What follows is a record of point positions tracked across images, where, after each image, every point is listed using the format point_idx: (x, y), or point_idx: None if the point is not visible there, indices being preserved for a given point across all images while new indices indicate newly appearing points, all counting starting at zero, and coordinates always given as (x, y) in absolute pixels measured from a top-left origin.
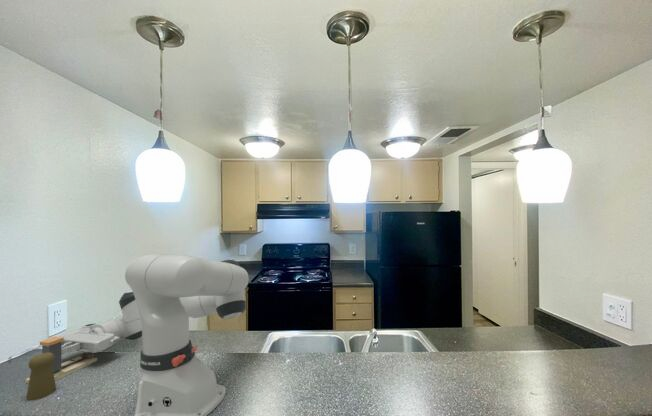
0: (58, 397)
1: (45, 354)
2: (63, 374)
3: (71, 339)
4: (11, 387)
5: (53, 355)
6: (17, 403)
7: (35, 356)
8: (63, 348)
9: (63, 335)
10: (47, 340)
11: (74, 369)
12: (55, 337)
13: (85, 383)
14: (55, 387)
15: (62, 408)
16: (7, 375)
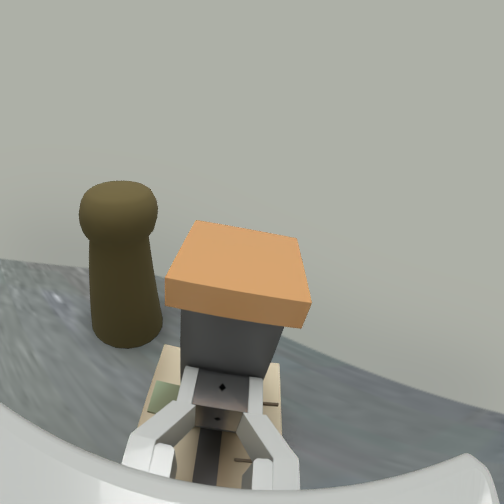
0: (59, 298)
1: (103, 185)
2: (144, 407)
3: (293, 498)
4: (292, 351)
5: (81, 207)
6: None
7: (135, 183)
8: (188, 377)
9: (478, 489)
10: (265, 246)
11: None
12: (273, 285)
13: (19, 349)
14: (93, 325)
15: (29, 266)
16: (415, 391)
